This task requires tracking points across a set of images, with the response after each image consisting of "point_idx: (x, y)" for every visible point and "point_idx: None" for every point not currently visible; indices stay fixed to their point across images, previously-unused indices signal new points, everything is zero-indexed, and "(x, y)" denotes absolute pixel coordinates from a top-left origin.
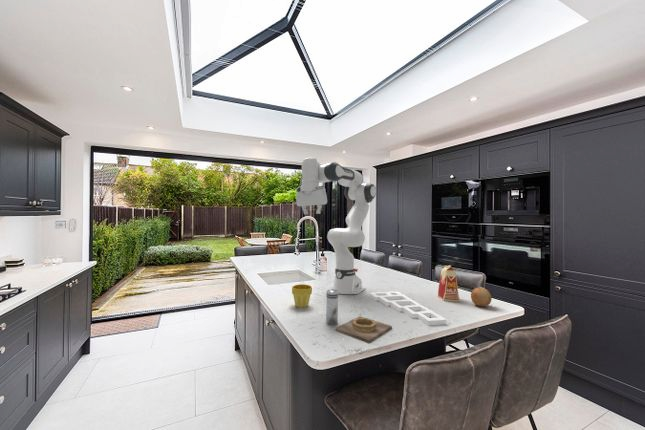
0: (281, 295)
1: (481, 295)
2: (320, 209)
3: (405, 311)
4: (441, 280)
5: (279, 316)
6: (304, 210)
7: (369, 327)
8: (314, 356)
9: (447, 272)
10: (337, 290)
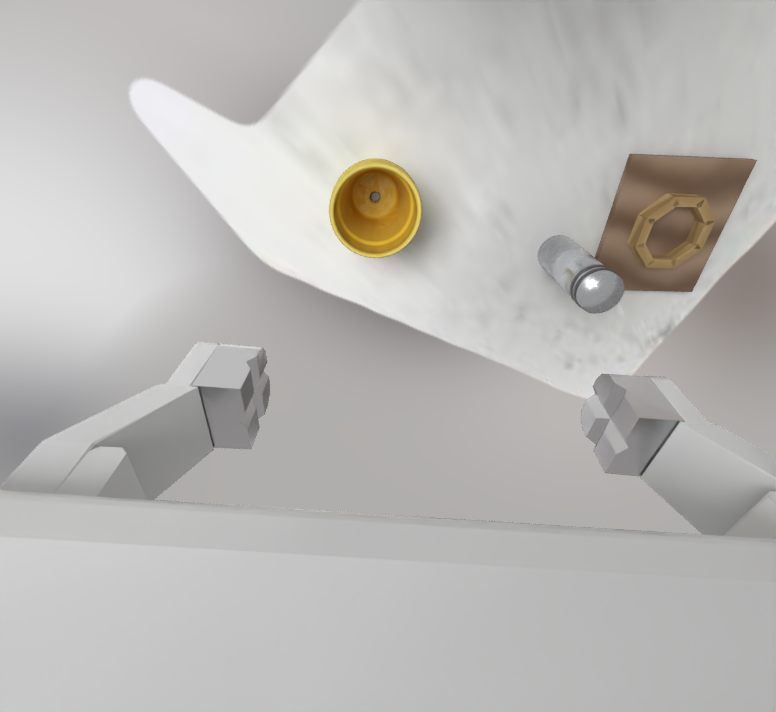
0: (205, 153)
1: None
2: (731, 444)
3: None
4: None
5: (396, 316)
6: (198, 452)
7: (694, 253)
8: (591, 395)
9: None
10: (617, 276)
